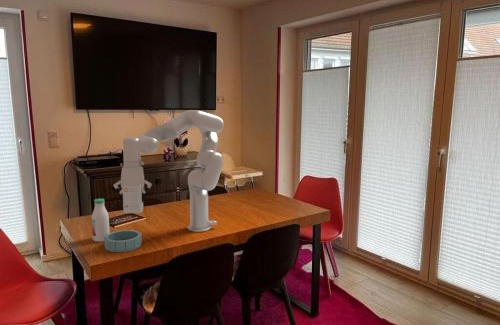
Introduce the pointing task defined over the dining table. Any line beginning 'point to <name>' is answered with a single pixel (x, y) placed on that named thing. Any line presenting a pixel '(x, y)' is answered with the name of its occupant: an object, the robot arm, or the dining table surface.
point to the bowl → (123, 241)
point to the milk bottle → (100, 221)
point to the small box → (132, 199)
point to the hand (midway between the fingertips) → (133, 201)
